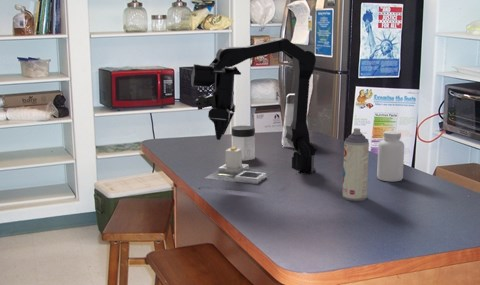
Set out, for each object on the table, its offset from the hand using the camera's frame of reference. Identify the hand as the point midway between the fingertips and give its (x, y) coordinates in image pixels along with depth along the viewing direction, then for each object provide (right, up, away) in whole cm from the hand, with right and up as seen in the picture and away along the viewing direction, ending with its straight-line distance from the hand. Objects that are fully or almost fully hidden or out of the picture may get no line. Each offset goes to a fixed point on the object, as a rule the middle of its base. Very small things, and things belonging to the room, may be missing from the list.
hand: (220, 137), depth 198 cm
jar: (+7, -8, +23) cm, 26 cm away
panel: (+6, -13, 0) cm, 15 cm away
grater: (+28, -3, +50) cm, 57 cm away
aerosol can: (+39, -18, -20) cm, 47 cm away
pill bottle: (+54, -13, -1) cm, 55 cm away
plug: (+4, -11, +5) cm, 13 cm away
